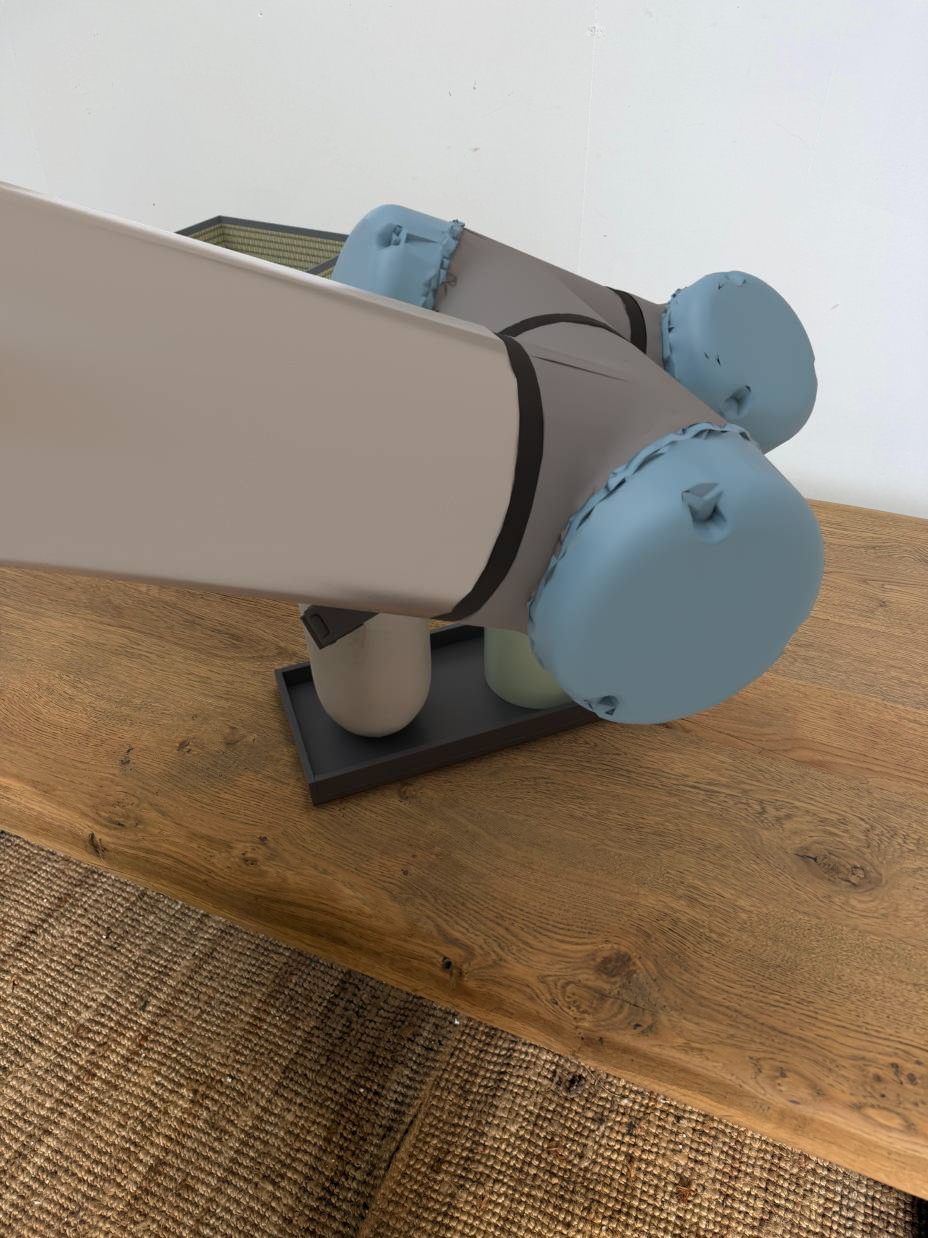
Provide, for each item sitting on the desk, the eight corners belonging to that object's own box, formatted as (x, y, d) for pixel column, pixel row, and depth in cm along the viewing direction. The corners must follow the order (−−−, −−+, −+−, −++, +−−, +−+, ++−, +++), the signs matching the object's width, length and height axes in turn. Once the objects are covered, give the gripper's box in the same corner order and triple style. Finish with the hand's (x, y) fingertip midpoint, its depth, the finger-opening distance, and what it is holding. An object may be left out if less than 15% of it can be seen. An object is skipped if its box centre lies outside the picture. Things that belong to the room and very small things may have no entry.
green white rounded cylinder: (314, 688, 79) (263, 405, 62) (423, 668, 81) (404, 388, 63) (326, 768, 72) (273, 474, 54) (446, 745, 74) (432, 452, 56)
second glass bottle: (471, 698, 78) (467, 412, 60) (498, 628, 85) (500, 356, 67) (581, 718, 76) (610, 428, 58) (598, 645, 83) (629, 368, 65)
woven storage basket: (399, 534, 100) (375, 237, 79) (327, 602, 90) (278, 284, 70) (273, 496, 107) (221, 214, 86) (195, 555, 97) (114, 254, 76)
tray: (312, 806, 70) (308, 784, 68) (278, 691, 80) (273, 669, 79) (651, 704, 78) (654, 682, 76) (580, 612, 88) (582, 590, 87)
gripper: (412, 658, 40) (275, 718, 58) (710, 462, 54) (524, 560, 71) (328, 519, 40) (216, 623, 58) (649, 356, 53) (477, 482, 71)
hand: (386, 588), depth 65 cm, fingers open, 13 cm apart
